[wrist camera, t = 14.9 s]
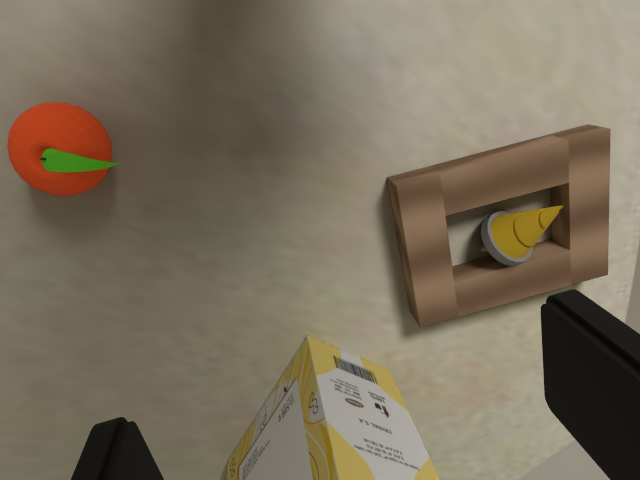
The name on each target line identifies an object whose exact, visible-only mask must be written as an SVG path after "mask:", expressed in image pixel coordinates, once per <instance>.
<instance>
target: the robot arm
mask: <svg viewBox="0 0 640 480" xmlns="http://www.w3.org/2000/svg"><path fill="white" fill-rule="evenodd" d="M541 327H542V348H543V369H544V390H545V399H546V402H547V404H548V406H549V408H550V410H551V411H552V412H553V414H554V415H555V416H556V417H557V418H558V419H559V421H560V422H561V423H562V424H563V425H564V426H565V428H566V429H567V430H568V431H569V432H570V433H571V435H572V436H573V437H574V438H575V439H576V440H577V441H578V443H579V444H580V445H581V446H582V447H583V448H584V450H585V451H586V452H587V453H588V454H589V455H590V457H591V458H592V459H593V460H594V461H595V462H596V463H597V465H598V466H599V467H600V468H601V469H602V470H603V471H604V473H605V474H606V475H607V476H608V477H609V478H610V480H640V334H639V333H637V332H636V331H634V330H633V329H632V328H630V327H629V326H627V325H626V324H624V323H623V322H622V321H620V320H619V319H617V318H616V317H615V316H613V315H612V314H610V313H609V312H607V311H606V310H605V309H603V308H602V307H600V306H599V305H597V304H596V303H595V302H593V301H592V300H590V299H589V298H588V297H586V296H585V295H583V294H582V293H580V292H579V291H577V290H573V289H572V290H568V291H565V292H561V293H558V294H554V295H551V296H549V297H548V298H547V300H546V304H543V305H542V306H541ZM71 480H164V479H163V477H162V475H161V473H160V471H159V469H158V467H157V465H156V463H155V461H154V459H153V457H152V455H151V453H150V451H149V449H148V447H147V445H146V443H145V441H144V439H143V437H142V435H141V433H140V430H139V428H138V426H137V425H136V423H135V422H134V421H131V422H127V420H126V419H125V418H124V417H120V418H116V419H113V420H109V421H106V422H102V423H99V424H96V425H94V426H93V428H92V430H91V432H90V434H89V437H88V439H87V442H86V444H85V447H84V449H83V451H82V454H81V456H80V459H79V461H78V464H77V466H76V469H75V471H74V473H73V476H72V478H71Z"/></svg>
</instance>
